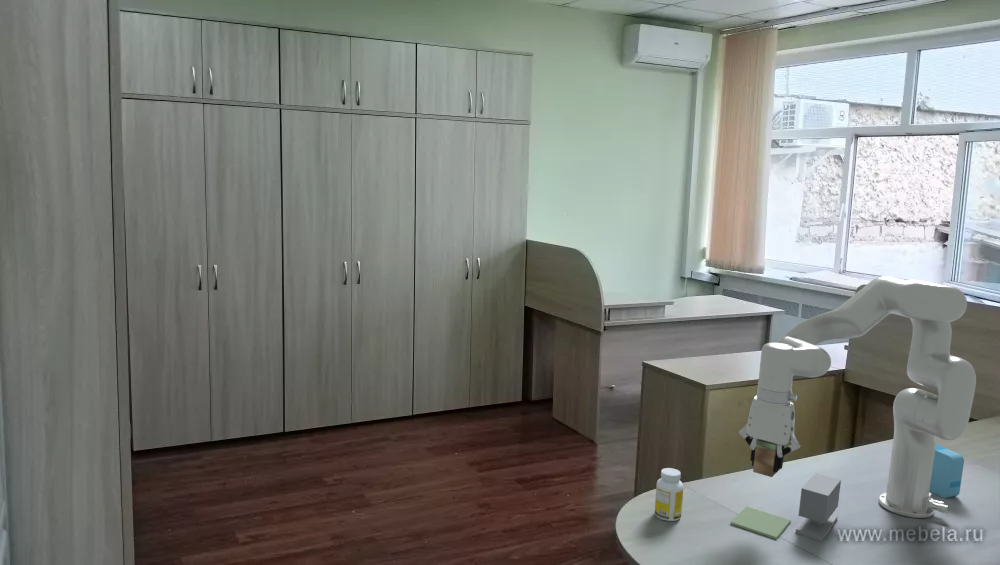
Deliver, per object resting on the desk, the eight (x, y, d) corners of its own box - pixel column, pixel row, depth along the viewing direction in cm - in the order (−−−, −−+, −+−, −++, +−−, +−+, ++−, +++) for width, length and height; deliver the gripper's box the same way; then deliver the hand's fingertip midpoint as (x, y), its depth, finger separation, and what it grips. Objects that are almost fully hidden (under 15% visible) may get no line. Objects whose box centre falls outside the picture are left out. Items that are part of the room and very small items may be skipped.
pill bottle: (682, 512, 184) (685, 469, 182) (679, 524, 178) (683, 479, 176) (656, 507, 186) (659, 464, 184) (652, 519, 180) (656, 474, 178)
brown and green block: (777, 471, 178) (781, 440, 177) (771, 477, 174) (775, 445, 173) (759, 466, 181) (762, 435, 179) (752, 471, 177) (756, 440, 176)
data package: (959, 498, 198) (965, 456, 197) (947, 500, 197) (953, 457, 195) (920, 479, 210) (926, 439, 208) (908, 481, 208) (914, 441, 206)
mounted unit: (837, 519, 183) (842, 478, 181) (821, 541, 172) (827, 497, 170) (811, 512, 187) (816, 471, 185) (795, 532, 176) (800, 489, 174)
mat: (790, 522, 181) (790, 520, 181) (776, 539, 172) (776, 537, 172) (746, 508, 187) (746, 506, 187) (730, 524, 179) (730, 521, 179)
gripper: (815, 399, 172) (806, 473, 175) (744, 384, 182) (737, 453, 185) (806, 407, 166) (797, 483, 169) (733, 390, 177) (726, 462, 180)
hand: (765, 466), depth 177 cm, fingers closed on brown and green block, 4 cm apart
